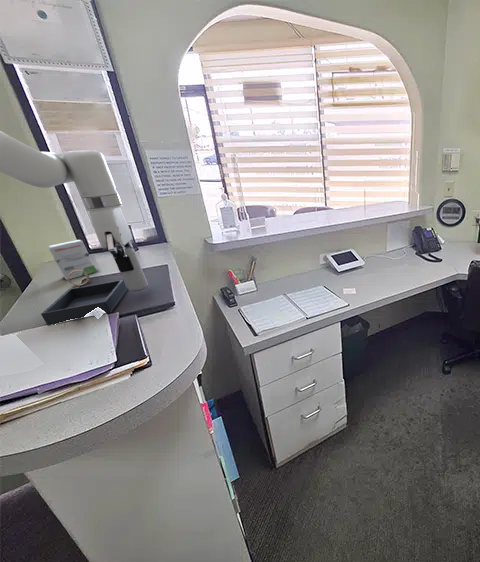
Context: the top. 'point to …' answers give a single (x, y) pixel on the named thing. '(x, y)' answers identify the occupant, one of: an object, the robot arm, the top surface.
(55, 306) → the desk tray
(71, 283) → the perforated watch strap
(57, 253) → the ink box
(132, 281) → the beverage can
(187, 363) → the top surface
